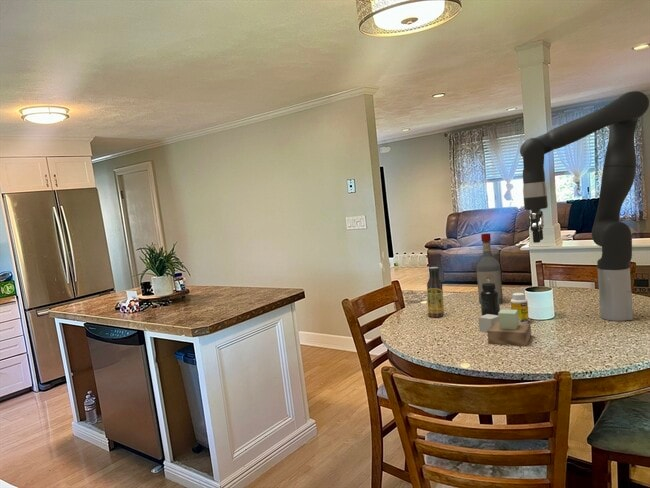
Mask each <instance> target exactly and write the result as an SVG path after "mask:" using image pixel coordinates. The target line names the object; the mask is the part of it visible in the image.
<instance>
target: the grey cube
mask: <svg viewBox="0 0 650 488" xmlns="http://www.w3.org/2000/svg"><path fill="white" fill-rule="evenodd" d="M477 319H478V328H479V329H478V330H479V332H483V333H487V331H488V329H489V328H490V327H491V326H492V324H493V323H494V322H499V318H498V315H491V314H486V315H480V316H478V318H477Z"/></svg>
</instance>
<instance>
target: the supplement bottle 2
mask: <svg viewBox="0 0 650 488" xmlns="http://www.w3.org/2000/svg"><path fill="white" fill-rule="evenodd" d="M528 305H529V303H528V299H526V295H525V293H523V292H515V293H512V298H511V299H510V310H518V319H519V323H529V319H530V318H529V317H530V316H529V306H528Z"/></svg>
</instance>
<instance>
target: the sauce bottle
mask: <svg viewBox="0 0 650 488" xmlns="http://www.w3.org/2000/svg"><path fill="white" fill-rule="evenodd" d="M439 271H440V267H438V266H431V267H428V274H429V275H428V276H429V277H428V280H427V283H426V294H427V295H426V298H427V300H426V301H427V313H428V316H429V317H431V318H441V317H443V316H444V314H445V312H444V311H445V310H444V309H445V308H444V290H443V282H442V281H441V279H440V272H439Z"/></svg>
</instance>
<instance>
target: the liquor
mask: <svg viewBox="0 0 650 488" xmlns="http://www.w3.org/2000/svg"><path fill="white" fill-rule="evenodd" d="M480 235H481V236H480V237H481V242H482V257H481V259H480V260H479V262H478V263H477V264H476V278H477V279H476V280H477V290H478V302H479V304H480V305H481V300H480V293H481V292H482V291H483V289H482V284H486V283H493V284H495V287H496V289H495V290H496V291H497V292H498V293H499V304H500V305H502V302H503V299H504V297H503V287H502V286H503V285H502V284H503V283H502V274H501V273H502V271H501V264H500V262H499V261H498V260H497V259H496V258H495V257H494V256H493V253H492V250H491V249H492V247H491V242H492V241H491V240H492V239H491V233H488V232H487V233H481V234H480Z"/></svg>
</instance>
